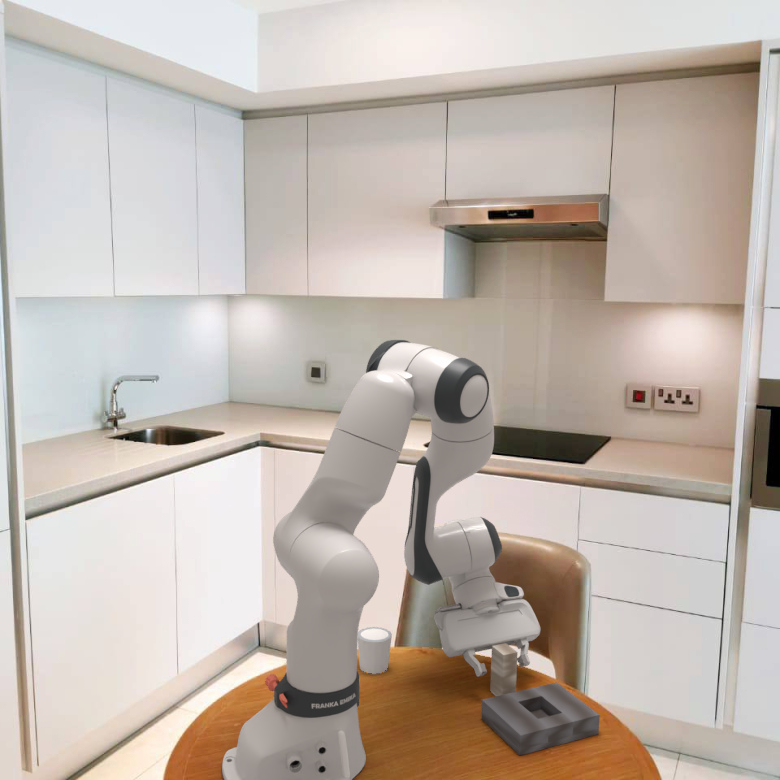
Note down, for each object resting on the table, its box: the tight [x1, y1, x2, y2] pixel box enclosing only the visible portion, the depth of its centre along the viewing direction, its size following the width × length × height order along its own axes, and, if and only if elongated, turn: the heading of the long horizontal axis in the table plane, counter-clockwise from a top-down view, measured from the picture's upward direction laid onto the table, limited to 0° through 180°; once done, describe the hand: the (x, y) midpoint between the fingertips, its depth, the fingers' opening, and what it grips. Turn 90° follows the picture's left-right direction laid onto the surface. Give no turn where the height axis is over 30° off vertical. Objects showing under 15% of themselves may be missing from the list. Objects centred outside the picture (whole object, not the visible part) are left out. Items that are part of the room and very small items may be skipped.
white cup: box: [357, 626, 393, 675], centre depth 155 cm, size 7×7×7 cm
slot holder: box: [480, 682, 601, 756], centre depth 135 cm, size 16×12×4 cm
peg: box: [489, 643, 518, 697], centre depth 145 cm, size 3×4×9 cm
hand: (504, 670), depth 145 cm, fingers open, 8 cm apart
